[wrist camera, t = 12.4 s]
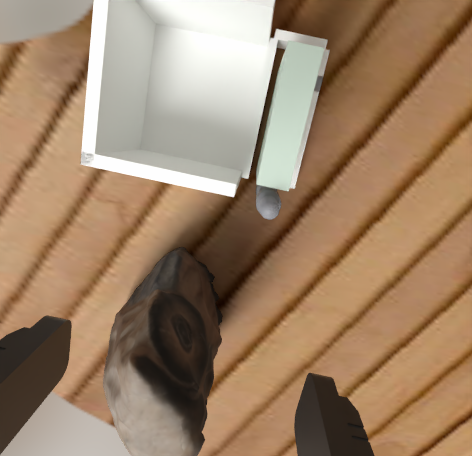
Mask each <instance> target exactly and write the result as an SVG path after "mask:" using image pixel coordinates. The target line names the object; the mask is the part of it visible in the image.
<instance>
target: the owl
mask: <svg viewBox="0 0 472 456" xmlns="http://www.w3.org/2000/svg"><path fill="white" fill-rule="evenodd" d="M214 278H215V277H214V276H213V274H211V273H210V272H209V271H208V269H207V267H206V266H205V265H204V264H202V263H200V262H198V261H197V260H196V259H195V258H193V257H192V256H191V255H190V254H189V253H188V251H187V250H186V248H184V247H179V248H177V249H175V250H174V251H172V252H169V253H168V254H167V255H165V256H164V257H163V258H162V259H161V260H160V261H159V262H158V263H157V264H156V266H155V267H154V269H153V270H152V272H151V273H150V274H149V275H148V276H147V277H146V279H145V280H144V281H143V282H142V284H141V285H139V286H138V287H137V288H136V290H135V292H134V293H133V295H132V297H131V298H130V300H128V302H127V303H126V304H125V305H124V306H123V307H122V309H121V310H120V311H119V312H118V313H117V314H116V317H115V322H114V324H113V327H112V329H111V334H110V340H109V349H108V356H107V357H106V364H105V369H104V378H103V388H104V391H105V396H106V399H107V403H108V407H109V409H110V411H111V413H112V416H113V419H114V425H115V427H116V430H117V432H118V434H119V436H120V438H121V440H122V442H123V443H124V445H125V447H126V449H127V450H128V452H129V453H130V454H131V456H197V455H198V454H199V452H200V450H201V448H202V445H203V443H204V441H205V439H204V435H203V434H202V430H203V428H204V425H205V421H206V419H207V408H206V405H207V397H208V396H209V392H210V389H211V387H212V384H213V379H214V371H213V360H214V358H215V356H216V354H217V351H218V347H219V346H220V344H221V342H222V338H221V335H220V328H219V325H220V323H221V322H222V317H223V316H222V313H221V311H220V310H219V309H218V308H217V305H216V303H215V302H216V301H217V300H218V299H219V296H218V294H217V293H216V292H215V291H214V288H213V284H212V283H211V282H213V281H214Z"/></svg>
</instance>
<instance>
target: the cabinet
mask: <svg viewBox="0 0 472 456" xmlns="http://www.w3.org/2000/svg"><path fill="white" fill-rule="evenodd" d="M274 7H275V0H94V5H93V18H92V30H91V42H90V55H89V67H88V79H87V92H86V104H85V117H84V129H83V141H82V154H81V165H86V166H91V167H95V168H100V169H105V170H109V171H114V172H119V173H123V174H128V175H133V176H137V177H142V178H146V179H151V180H156V181H160V182H165V183H170V184H174V185H179V186H184V187H188V188H193V189H198V190H202V191H207V192H212V193H216V194H221V195H226V196H230V197H234V196H235V193H236V190H237V188H238V185H239V182H240V180H241V177H242V178H246V179H248V178H249V173H250V169H251V164H252V159H253V155H254V150H255V145H256V141H257V136H258V131H259V127H260V122H261V118H262V113H263V108H264V104H265V99H266V94H267V90H268V85H269V80H270V76H271V71H272V66H273V62H274V57H275V53H276V48H281V49H286V46H287V43H288V40H289V41H294V42H298V43H303V44H308V45H312V46H317V47H322V48H324V52H323V56H322V60H321V64H320V68H319V72H318V76H323V75H324V71H325V67H326V63H327V59H328V55H329V51H330V50H326V45H327V41H328V40H326V39H321V38H317V37H312V36H307V35H303V34H298V33H293V32H289V31H284V30H279V29H276V32H275V36H274V38H270V35H271V28H272V21H273V14H274ZM318 94H319V92H316V91H314V92H313V96H312V100H311V104H310V108H309V112H308V116H307V120H306V124H305V128H304V132H303V136H302V140H301V144H300V148H299V152H298V156H297V160H296V164H295V168H294V172H293V176H292V180H291V184H290V188H293V189H295V185H296V181H297V177H298V173H299V169H300V165H301V161H302V157H303V153H304V149H305V146H306V142H307V138H308V134H309V130H310V126H311V122H312V118H313V114H314V110H315V106H316V102H317V98H318ZM256 195H257V196H256V207H257V210H258V211H259V213H261V215H262V216H263V217H264V218H265V219H274V218H275V217H276V216H277V215H278V213H279V210H280V208H281V200H280V198H279V195H278V193H277V190H276V189H275V188H270V187H266V186H261V185H257V186H256Z"/></svg>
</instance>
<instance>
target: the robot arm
mask: <svg viewBox="0 0 472 456" xmlns="http://www.w3.org/2000/svg"><path fill="white" fill-rule="evenodd" d="M71 327H72V325H71V321H70V320H66V319H61V318H57V317H52V316H44V317H43V318H42V319H41V320H39V321H38V322H37V323H36V324H35V325H34V326H32V327H31V328H26V327H24V328H21V329H19V330H17V331H15V332H12V333H10V334H8V335H6V336H5V337H3V338H2V339H1V340H0V454H1V453H2V452H3V451H4V449H5V448H6V447H7V446H8V444H9V443H10V442H11V440H12V439H13V438H14V437H15V436H16V434H17V433H18V432H19V431H20V429H21V428H22V427H23V426H24V424H25V423H26V422H27V421H28V419H29V418H30V417H31V416H32V415H33V413H34V412H35V411H36V409H37V408H38V407H39V406H40V405H41V403H42V402H43V401H44V399H45V398H46V397H47V396H48V395H49V393H50V392H51V391H52V390H53V388H54V387H55V386H56V385H57V384H58V382H59V381H60V380H61V378H62V377H63V375H64V373H65V371H66V368H67V365H68V361H69V351H70V339H71ZM363 427H364V426H363V424H362V421H361V418H360V415H359V413H358V411H357V410H356V408H355V407H354V406H353V405H352V403H351V402H350V401H349V399H348V398H346V397H342V396H339V395H338V392H337V389H336V386H335V383H334V380H333V378H332V377H327V376H322V375H318V374H313V373H309V374H308V375H307V378H306V381H305V384H304V387H303V390H302V394H301V397H300V400H299V403H298V406H297V410H296V414H295V424H294V428H295V438H296V446H297V453H298V456H374V453H373V451H372V448H371V445H370V442H368V437H367V434H366V432H365V430H364V429H363Z"/></svg>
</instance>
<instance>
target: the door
mask: <svg viewBox="0 0 472 456" xmlns="http://www.w3.org/2000/svg"><path fill="white" fill-rule="evenodd" d="M323 52H324V48H322V47H317V46H312V45H308V44H303V43H298V42H294V41H289V40H288V43H287V46H286V49H285V52H284V55H283V58H282V61H281V64H280V67H279V70H278V74H277V78H276V83H275V87H274V92H273V96H272V101H271V105H270V110H269V114H268V119H267V123H266V128H265V132H264V137H263V141H262V146H261V151H260V155H259V160H258V164H257V169H256V185H261V186H266V187H270V188H275V189H279V190H284V191H289V188H290V184H291V180H292V176H293V172H294V168H295V164H296V160H297V156H298V152H299V148H300V144H301V140H302V136H303V132H304V128H305V124H306V120H307V116H308V112H309V108H310V104H311V100H312V96H313V92H314V91H316V92H319V90H320V87H321V84H322V79H323V76H318V72H319V68H320V64H321V60H322V56H323Z"/></svg>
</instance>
